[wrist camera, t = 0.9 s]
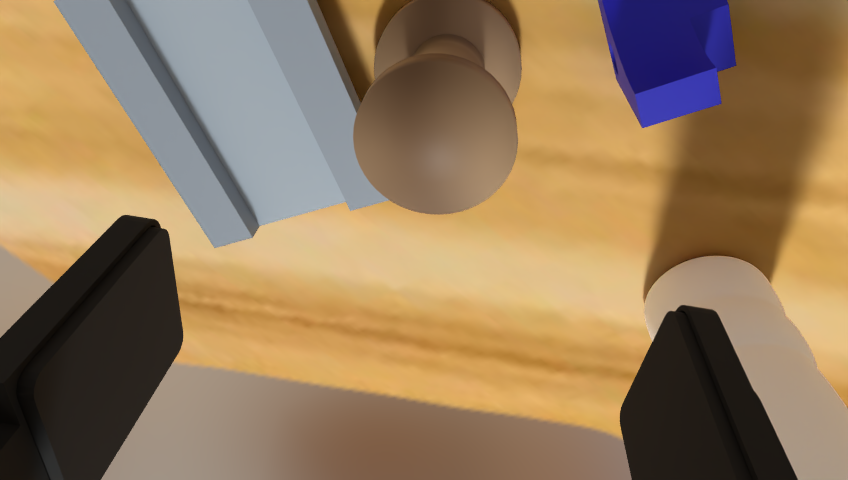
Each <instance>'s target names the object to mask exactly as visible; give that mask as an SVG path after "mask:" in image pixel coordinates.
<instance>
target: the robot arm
mask: <svg viewBox="0 0 848 480" xmlns="http://www.w3.org/2000/svg"><path fill="white" fill-rule="evenodd" d="M182 342H183V328H182V321H181V314H180V307H179V300H178V294H177V287H176V280H175V273H174V266H173V259H172V252H171V245H170V238H169V234H168V231H167V230H166V229H162V228H161V227H160V224H159V222H158V221H157V220H155V219H149V218H142V217H136V216H130V215H123V216H121V217H120V218H118V219H117V220H116V221H115V222H114V223H113V224H112V226H111V227H110V228H109V229H108V230H107V231H106V232H105V233H104V234H103V235H102V236H101V237H100V238H99V239H98V240H97V241H96V242H95V243H94V244H93V245H92V246H91V247H90V248H89V249H88V250H87V251H86V252H85V253H84V254H83V255H82V256H81V257H80V258H79V259H78V260H77V261H76V262H75V263H74V264H73V265H72V266H71V267H70V268H69V269H68V270H67V271H66V272H65V273H64V274H63V275H62V276H61V277H60V278H59V279H58V280H57V281H56V282H55V283H54V284H53V285H52V286H51V287H50V288H49V289H48V290H47V291H46V292H45V293H44V294H43V295H42V296H41V297H40V298H39V299H38V300H37V301H36V302H35V303H34V304H33V305H32V306H31V307H30V308H29V309H28V310H27V311H26V312H25V313H24V314H23V315H22V316H21V318H20V319H19V320H17V322H16V323H15V324H14V325H13V326H12V327H11V328H10V329H9V330H8V331H7V332H6V333H5V334H4V335H3V336H2V337H1V338H0V480H101V478H102V477H103V475H104V473H105V472H106V470H107V469H108V467H109V465H110V464H111V462H112V461H113V459H114V457H115V456H116V454H117V452H118V451H119V449H120V447H121V446H122V444H123V442H124V441H125V439H126V438H127V436H128V434H129V433H130V431H131V429H132V428H133V426H134V425H135V423H136V421H137V420H138V418H139V416H140V415H141V413H142V412H143V410H144V408H145V407H146V405H147V403H148V402H149V400H150V399H151V397H152V395H153V394H154V392H155V390H156V389H157V387H158V386H159V384H160V382H161V381H162V379H163V377H164V376H165V374H166V372H167V371H168V369H169V367H170V366H171V364H172V363H173V361H174V359H175V358H176V356H177V355H178V353H179V351H180V349H181V346H182ZM620 426H621V431H622V435H623V440H624V445H625V449H626V454H627V459H628V463H629V468H630V473H631V477H632V480H798V478H797V476H796V474H795V472H794V470H793V468H792V466H791V464H790V461H789V459H788V457H787V455H786V453H785V451H784V449H783V447H782V444H781V442H780V440H779V438H778V436H777V434H776V432H775V430H774V427H773V425H772V423H771V421H770V419H769V417H768V415H767V413H766V410H765V408H764V406H763V404H762V402H761V400H760V398H759V397H758V395H757V394H756V392H755V391H754V390H753V388H752V386H751V384H750V382H749V379H748V377H747V375H746V373H745V371H744V369H743V367H742V364H741V362H740V360H739V358H738V356H737V354H736V352H735V349H734V347H733V345H732V343H731V341H730V339H729V337H728V334H727V332H726V330H725V328H724V326H723V324H722V322H721V319H720V317H719V315H718V314H717V312H716V311H714V310H712V309H706V308H700V307H694V306H688V305H680V306H679V307H678V308H677V309H676V311H669V312H667V313H666V315H665V317H664V319H663V321H662V323H661V325H660V327H659V329H658V331H657V333H656V335H655V337H654V340H653V342H652V344H651V346H650V348H649V350H648V352H647V354H646V356H645V358H644V360H643V362H642V365H641V367H640V369H639V371H638V373H637V375H636V377H635V379H634V381H633V383H632V385H631V388H630V390H629V392H628V394H627V396H626V398H625V400H624V402H623V404H622V407H621V411H620Z"/></svg>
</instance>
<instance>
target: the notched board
mask: <svg viewBox="0 0 848 480" xmlns="http://www.w3.org/2000/svg"><path fill="white" fill-rule="evenodd" d="M54 3H55V4H56V6H57V8H58V9H59V11H60V12H61V14H62V15H63V17H64V18H65V20H66V21H67V23H68V24H69V26H70V27H71V29H72V30H73V32H74V34H75V35H76V37H77V38H78V40H79V41H80V43H81V44H82V46H83V47H84V49H85V50H86V52H87V53H88V55H89V57H90V58H91V60H92V61H93V63H94V64H95V66H96V67H97V69H98V70H99V72H100V73H101V75H102V76H103V78H104V79H105V81H106V83H107V84H108V86H109V87H110V89H111V90H112V92H113V93H114V95H115V96H116V98H117V99H118V101H119V102H120V104H121V106H122V107H123V109H124V110H125V112H126V113H127V115H128V116H129V118H130V119H131V121H132V122H133V124H134V125H135V127H136V128H137V130H138V132H139V133H140V135H141V136H142V138H143V139H144V141H145V142H146V144H147V145H148V147H149V148H150V150H151V151H152V153H153V155H154V156H155V158H156V159H157V161H158V162H159V164H160V165H161V167H162V168H163V170H164V171H165V173H166V174H167V176H168V177H169V179H170V181H171V182H172V184H173V185H174V187H175V188H176V190H177V191H178V193H179V194H180V196H181V197H182V199H183V200H184V202H185V204H186V205H187V207H188V208H189V210H190V211H191V213H192V214H193V216H194V217H195V219H196V220H197V222H198V223H199V225H200V226H201V228H202V230H203V231H204V233H205V234H206V236H207V237H208V239H209V240H210V242H211V243H212V245H213V246H214V248H216V247H220V246H224V245H227V244H231V243H235V242H238V241H242V240H246V239H249V238H253V236H254V234H255V233H256V231H257V229H258V228H259V226H261V225H265V224H268V223H272V222H275V221H279V220H283V219H286V218H290V217H293V216H297V215H301V214H304V213H308V212H311V211H315V210H318V209H322V208H326V207H329V206H333V205H336V204H340V203H344V202H346V203H347V205H348V207H349V209H350V211H351V210H355V209H359V208H362V207H366V206H370V205H373V204H377V203H381V202H384V201H388V200H389V199H387V198H386V197H384V196H383V195H382V194H381V193H380V192H378V191H377V190H376V189H375V188H374V187H373V185H372V184H371V183H370V182H369V181H368V179H367V178H366V176H365V175H364V173H363V171H362V170H361V168H360V166H359V163H358V160H357V158H356V154H355V150H354V143H353V128H354V122H355V118H356V115H357V112H358V109H359V107H360V105H361V103H360V100H359V98H358V96H357V93H356V91H355V89H354V86H353V84H352V82H351V79H350V77H349V75H348V72H347V70H346V68H345V66H344V63H343V61H342V59H341V56H340V54H339V52H338V49H337V47H336V45H335V42H334V40H333V38H332V35H331V33H330V31H329V28H328V26H327V24H326V21H325V19H324V17H323V14H322V12H321V10H320V7H319V5H318V3H317V0H55V1H54Z"/></svg>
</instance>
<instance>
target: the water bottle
mask: <svg viewBox="0 0 848 480" xmlns="http://www.w3.org/2000/svg"><path fill="white" fill-rule="evenodd" d="M680 305H688V306H694V307H700V308H706V309H712V310H714V311H716V312H717V314H718V315H719V317H720V319H721V322H722V324H723V326H724V328H725V330H726V332H727V334H728V337H729V339H730V341H731V343H732V345H733V347H734V349H735V352H736V354H737V356H738V358H739V360H740V362H741V364H742V367H743V369H744V371H745V373H746V375H747V377H748V379H749V382H750V384H751V386H752V388H753V390H754V391H755V392H756V394H757V395H758V397H759V398H760V400H761V402H762V404H763V406H764V408H765V410H766V413H767V415H768V417H769V419H770V421H771V423H772V425H773V427H774V430H775V432H776V434H777V436H778V438H779V440H780V442H781V444H782V447H783V449H784V451H785V453H786V455H787V457H788V459H789V461H790V464H791V466H792V468H793V470H794V472H795V474H796V476H797V478H798V480H848V408H847V406H846V405H845V404H844V402H843V401H842V399H841V398H840V397H839V395H838V394H837V392H836V391H835V390H834V388H833V387H832V386H831V384H830V383H829V382H828V380H827V379H826V378H825V377H824V375H823V374H822V373H821V372H820V370H819V369H818V368H817V364H816V361H815V358H814V356H813V353H812V351H811V349H810V347H809V345H808V344H807V342H806V340H805V339H804V337H803V336H802V334H801V333H800V331H799V330H798V328H797V327H796V326H795V325H794V323H793V322H792V321H791V320H790V319H789V318H788V317H787V316H786V313H785V311H784V308H783V306H782V304H781V302H780V300H779V298H778V296H777V294H776V292H775V291H774V289H773V287H772V286H771V284H770V282H769V281H768V279H767V278H766V277H765V276H764V274H763V273H762V272H761V271H760V270H759V269H757V268H756V267H755V266H753V265H752V264H750V263H748V262H746V261H743V260H741V259H738V258H734V257H728V256H705V257H699V258H695V259H691V260H688V261H685V262H683V263H681V264H679V265H677V266H675V267H673V268H671V269H670V270H668V271H667V272H665V273H664V274H663V275H662V276H661V277H660V278H659V279H658V280H657V281H656V282H655V283H654V284H653V286H652V287H651V289H650V290H649V292H648V294H647V297H646V300H645V304H644V317H645V322H646V325H647V328H648V331H649V334H650V337H651V339H652V342H653V340H654V337H655V335H656V333H657V331H658V329H659V327H660V325H661V323H662V321H663V319H664V317H665V315H666V313H667V312H669V311H676V309H677V308H678V307H679V306H680Z"/></svg>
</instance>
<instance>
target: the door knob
mask: <svg viewBox="0 0 848 480" xmlns="http://www.w3.org/2000/svg"><path fill="white" fill-rule="evenodd" d="M521 70H522V67H521V55H520V50H519V45H518V41H517V38H516V35H515V33H514V31H513V29H512V27H511V25H510V24H509V22H508V21H507V19H506V18H505V17H504V15H503V14H502V13H501V12H500V11H499V10H498V9H497V8H496V7H494V6H493V5H492V4H491V3H489V2H488V1H486V0H411V1H410V2H408V3H407V4H405V5H404V6H403V7H402V8H401V9H399V10H398V12H397V13H396V14H395V15H394V16H393V17H392V19H391V20H390V21H389V23H388V24H387V26H386V28H385V30H384V32H383V34H382V36H381V38H380V40H379V43H378V46H377V49H376V54H375V61H374V73H375V81H374V82H373V83H372V85H371V86H370V87H369V89H368V91H367V92H366V94H365V96H364V98H363V100H362V102H361V105H360V107H359V109H358V112H357V115H356V118H355V122H354V128H353V143H354V150H355V154H356V158H357V160H358V163H359V166H360V168H361V170H362V171H363V173H364V175H365V176H366V178H367V179H368V181H369V182H370V183H371V184H372V185H373V187H374V188H375V189H376V190H377V191H378V192H380V193H381V194H382V195H383V196H384V197H386V198H387V199H389V200H390V201H392V202H393V203H395V204H397V205H399V206H401V207H404V208H406V209H409V210H412V211H416V212H419V213H426V214H451V213H456V212H461V211H464V210H467V209H470V208H472V207H474V206H476V205H478V204H480V203H482V202H483V201H485V200H486V199H488V198H489V197H490V196H492V195H493V194H494V193H495V192H496V191H497V190H498V189H499V188H500V187H501V186H502V184H503V183H504V182H505V180H506V179H507V177H508V175H509V173H510V172H511V170H512V167H513V164H514V162H515V158H516V154H517V146H518V135H517V124H516V117H515V112H514V108H513V106H512V103H513V101H514V99H515V97H516V95H517V92H518V89H519V85H520V80H521Z"/></svg>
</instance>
